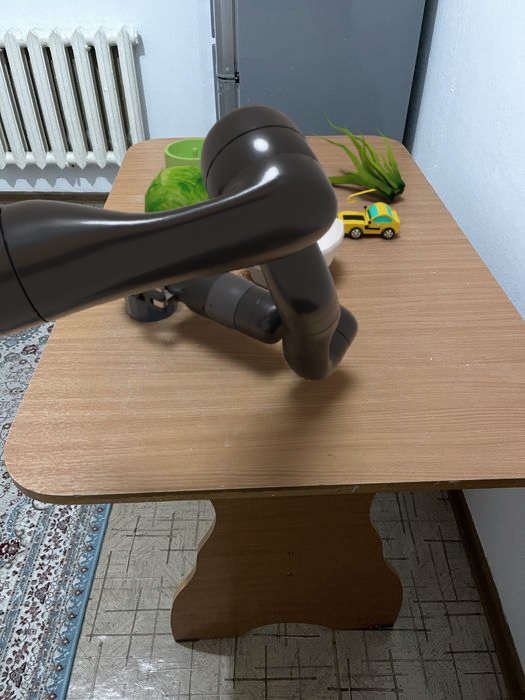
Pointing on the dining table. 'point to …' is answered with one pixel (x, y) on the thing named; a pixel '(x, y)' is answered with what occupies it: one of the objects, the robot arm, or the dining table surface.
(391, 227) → the toy car
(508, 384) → the dining table surface
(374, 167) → the decorative plant
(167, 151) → the food container
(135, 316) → the bottle holder
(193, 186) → the lettuce
